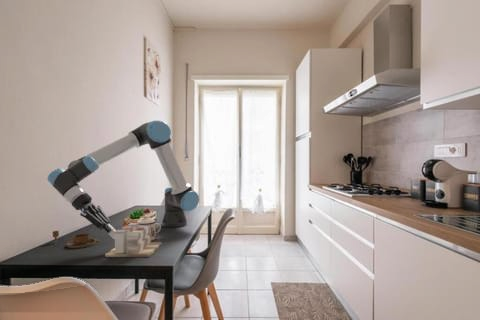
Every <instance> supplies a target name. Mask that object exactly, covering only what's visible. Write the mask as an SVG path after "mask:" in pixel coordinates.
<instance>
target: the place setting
mask: <svg viewBox="0 0 480 320" xmlns="http://www.w3.org/2000/svg"><path fill="white" fill-rule="evenodd" d="M59 236H60V231H59V230H54V231H52V238H54V240H53V241H54V244H57V243H58V239H57V238H58V237H59ZM89 242H90V243H89ZM96 242H99V243H102V241H100V239H99V238H91V234H90V233H78V234H75V235H73V236H72V240H71V241H68V242H67V243H66V247H67V248H68V249H83V248H88V247H91V246H93V245H95V244H96ZM87 243H88V244H87ZM73 244H74V245H73Z"/></svg>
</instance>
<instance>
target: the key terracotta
mask: <svg viewBox="0 0 480 320" xmlns="http://www.w3.org/2000/svg"><path fill="white" fill-rule="evenodd" d="M120 230H127V234H129V233H131V232H132V231H133V226H128V225H127V226H125V225H124V226H123V227H121V228H120Z"/></svg>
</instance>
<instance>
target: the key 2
mask: <svg viewBox="0 0 480 320" xmlns="http://www.w3.org/2000/svg"><path fill="white" fill-rule="evenodd" d="M138 225H139V223H137V222H130V223H128V224H127V226H133V231H134V230H135V229H137V228H138Z"/></svg>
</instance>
